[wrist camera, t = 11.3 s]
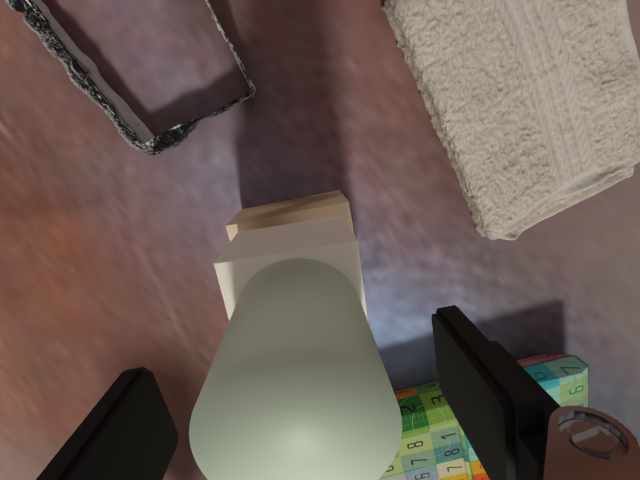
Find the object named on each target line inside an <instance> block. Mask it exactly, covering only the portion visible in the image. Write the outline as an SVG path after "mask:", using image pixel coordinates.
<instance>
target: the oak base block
mask: <svg viewBox="0 0 640 480" xmlns="http://www.w3.org/2000/svg"><path fill="white" fill-rule="evenodd" d="M342 215H343V216H344V217H345V219H346V221H347V223H348V225H349V226H350V228H351V230H352V232H353V233H354V230H353V224H352V218H351V212H350V206H349V201H348V200H347V199H346V198H345V196H344V195H343V194H342V193H341V191H340V190H336V191H331V192H326V193H321V194H316V195H311V196H306V197H301V198H295V199H290V200H285V201H280V202H275V203H270V204H265V205H260V206H255V207H250V208H245V209H241V210H240V212H239V213H238V214H237V215H236V216H235V217H234V218H233V219H232V220H231V221H230V222H229V223H228V224H227V225H226V229H227V232H228V236H229V239H230V242H231V241H232V239H233V238H234V237H235V235H236V234H237V233H238V232H241V231H248V230H254V229H260V228H267V227H273V226H279V225H285V224H292V223H298V222H304V221H311V220H317V219H323V218H330V217H336V216H342ZM365 305H366V303H365ZM366 311H367V309H366Z"/></svg>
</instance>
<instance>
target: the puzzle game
mask: <svg viewBox="0 0 640 480" xmlns="http://www.w3.org/2000/svg"><path fill="white" fill-rule="evenodd" d="M516 361H517V362H518V363H519V364H520V365H521V366H522V367H523V368H524V369H525V370H526V371H527V372H528V373H529V374H530V375H531V377H532V378H533V379H534V380H535V381H536V382H537V383H538V384H539V385H540V386H541V387H542V388H543V389H544V390H545V391H546V392H547V393H548V394H549V395H550V396H551V397H552V398H553V399H554V400H555V401H556V402H557V403H558V404H559V405H560V406H561V407H564V406H583V407H589V366H588V365H587V364H585V363H584V362H583V361H581V360H580V359H579V358H578V357H576V356H574V355H564V354H540V355H536V356H532V357H528V358H524V359H520V360H516ZM394 394H395V397H396V400H397V402H398V405H399V408H400V412H401V417H402V435H401V442H400V445H399V448H398V451H397V453H396V455H395V458H394V460H393V461H392V463H391V464H390V466H389V467H388V469H387V470H386V472H385V473H384V474H383V475H382V476H381V477H380V478H379V479H378V480H490V479H489V477H488V475H487V474H486V472H485V470H484V468H483V466H482V465H481V463H480V461H479V459H478V457H477V455H476V454H475V452H474V450H473V448H472V446H471V445H470V443H469V441H468V439H467V437H466V436H465V434H464V432H463V430H462V428H461V426H460V425H459V423H458V421H457V419H456V417H455V416H454V414H453V412H452V410H451V408H450V407H449V405H448V403H447V401H446V399H445V397H444V396H443V394H442V392H441V389H440V386H439V382H438V381H434V382H430V383H426V384H422V385H418V386H414V387H410V388H406V389H402V390H398V391H394Z"/></svg>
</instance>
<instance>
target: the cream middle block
mask: <svg viewBox="0 0 640 480" xmlns="http://www.w3.org/2000/svg"><path fill="white" fill-rule="evenodd" d="M293 258H306V259H313V260H317V261H321V262H324V263H326V264H329V265H331V266H332V267H334V268H336V269H337V270H339V271H340V272H341V273H343V274H344V275H345V276H346V277H347V278H348V279H349V281H350V282H351V283H352V285H353V286H354V288H355V290H356V291H357V294H358V296H359V299H360V302H361V304H362V307H363V310H364V313H365V315H366V318H367V313H366V305H365V297H364V289H363V280H362V272H361V264H360V255H359V247H358V241H357V239H356V237H355V235H354V233H353V232H352V230H351V228H350V226H349V225H348V223H347V221H346V219H345V217H344V216H343V215H342V216H336V217H330V218H323V219H317V220H311V221H304V222H298V223H292V224H285V225H279V226H273V227H267V228H260V229H254V230H248V231H241V232H238V233H237V234H236V235H235V237H234V238H233V239H232V241H231V242H230V243H229V245H228V246H227V247H226V249H225V250H224V251H223V253H222V254H221V255H220V257H219V258H218V259H217V261H216V262H215V263H214V266H215V269H216V273H217V277H218V281H219V284H220V288H221V292H222V296H223V299H224V303H225V307H226V311H227V314H228V318H229V321H230V318H231V316H232V314H233V311H234V309H235V306H236V304H237V301H238V299H239V297H240V294H241V292H242V290H243V288H244V287H245V285H246V284H247V282H248V281H249V280H250V279H251V278H252V277H253V276H254V275H255V274H256V273H257V272H259V271H260V270H262V269H263V268H265V267H267V266H268V265H270V264H273V263H275V262H278V261H282V260H286V259H293Z"/></svg>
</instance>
